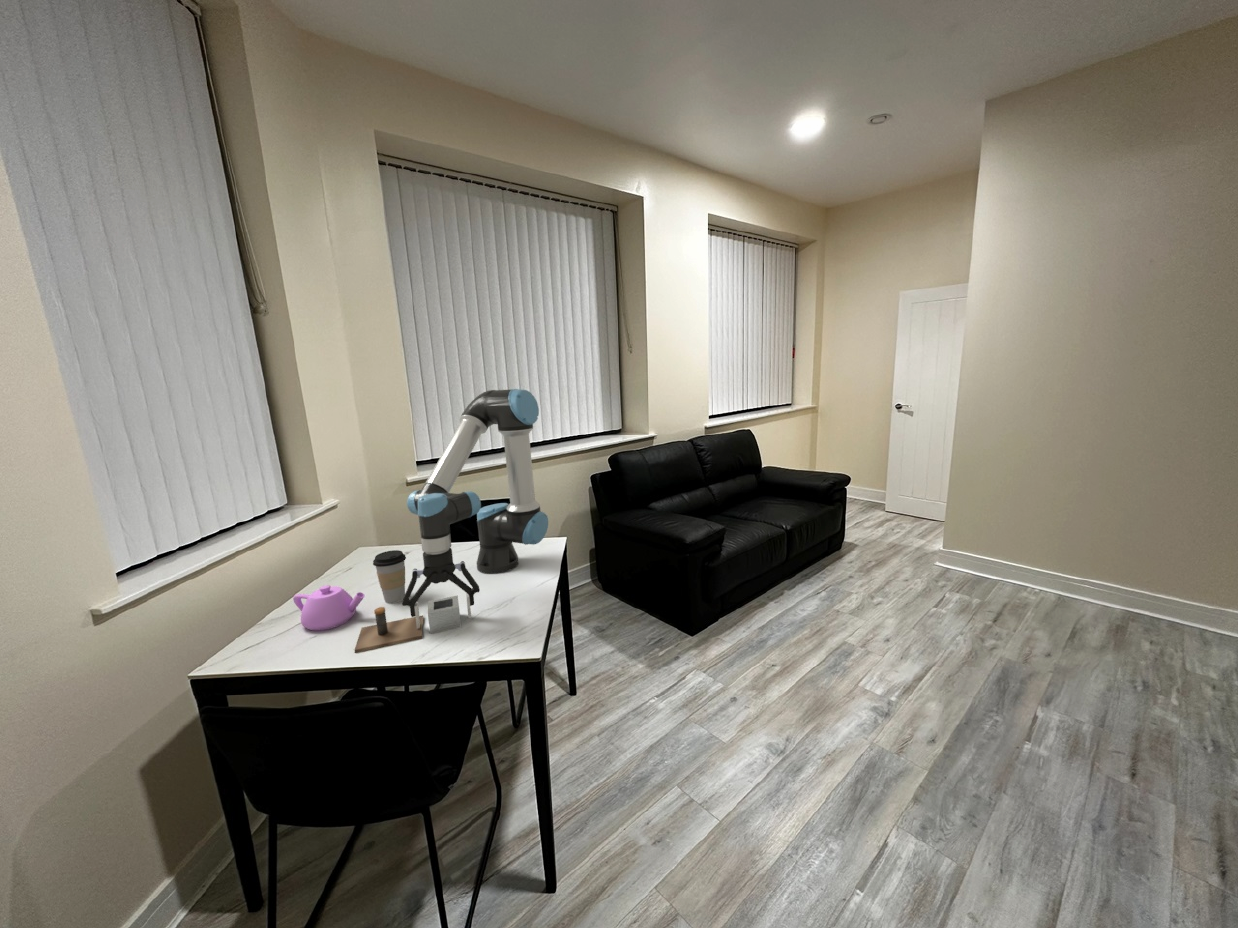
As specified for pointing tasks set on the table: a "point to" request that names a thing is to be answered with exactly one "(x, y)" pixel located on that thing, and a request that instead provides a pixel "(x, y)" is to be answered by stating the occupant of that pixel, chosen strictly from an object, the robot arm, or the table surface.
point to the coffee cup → (391, 574)
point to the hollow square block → (443, 614)
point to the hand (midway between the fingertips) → (444, 621)
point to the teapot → (327, 607)
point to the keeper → (388, 632)
